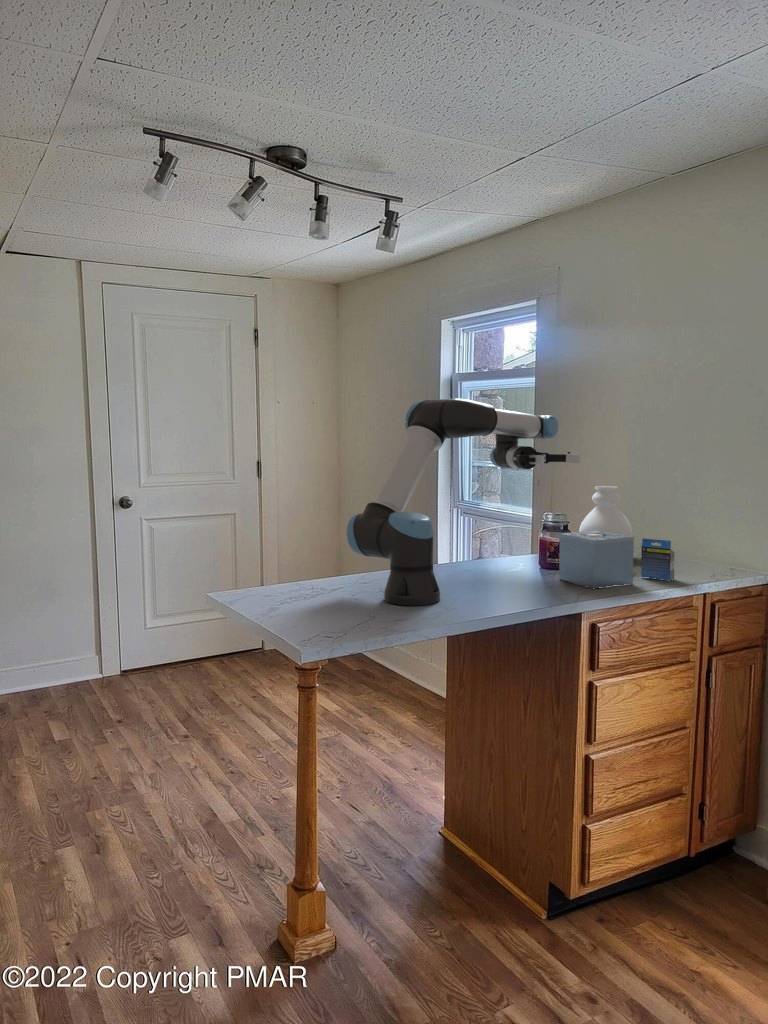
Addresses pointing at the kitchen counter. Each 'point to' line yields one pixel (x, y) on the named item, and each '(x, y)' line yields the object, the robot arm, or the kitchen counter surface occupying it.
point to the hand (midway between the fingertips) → (561, 459)
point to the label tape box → (657, 559)
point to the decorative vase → (606, 513)
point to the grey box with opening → (596, 559)
